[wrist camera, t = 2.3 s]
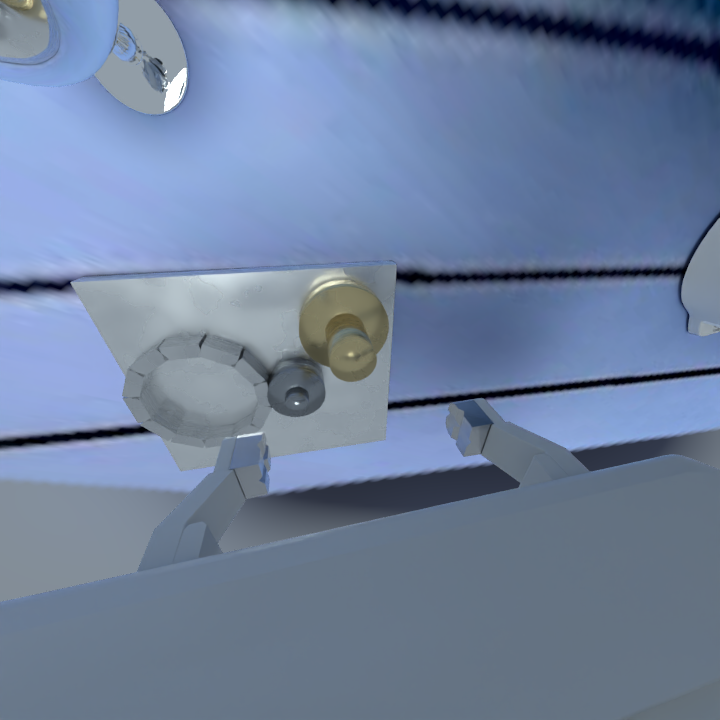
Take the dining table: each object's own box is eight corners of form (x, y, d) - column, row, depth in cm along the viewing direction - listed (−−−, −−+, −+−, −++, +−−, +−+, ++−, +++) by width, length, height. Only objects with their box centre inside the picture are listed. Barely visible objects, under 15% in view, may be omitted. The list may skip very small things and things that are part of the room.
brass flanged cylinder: (384, 275, 19) (409, 306, 15) (383, 352, 23) (403, 396, 18) (292, 284, 19) (288, 319, 14) (305, 362, 22) (306, 410, 18)
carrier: (391, 260, 20) (412, 277, 17) (382, 431, 30) (394, 465, 26) (83, 276, 17) (25, 301, 14) (185, 460, 27) (167, 503, 23)
